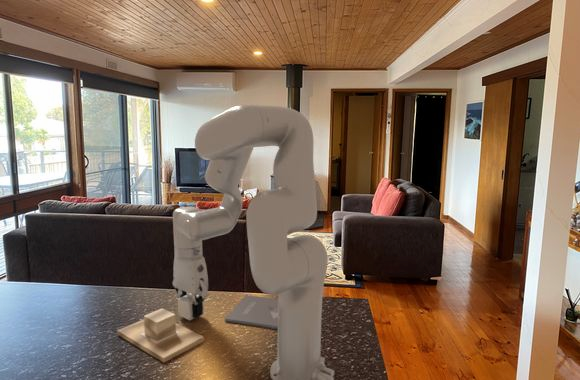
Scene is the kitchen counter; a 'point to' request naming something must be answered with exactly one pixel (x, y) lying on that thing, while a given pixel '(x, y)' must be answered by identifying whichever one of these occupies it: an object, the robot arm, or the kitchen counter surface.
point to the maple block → (159, 324)
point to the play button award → (255, 312)
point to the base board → (161, 341)
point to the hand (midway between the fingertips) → (191, 312)
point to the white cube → (186, 306)
